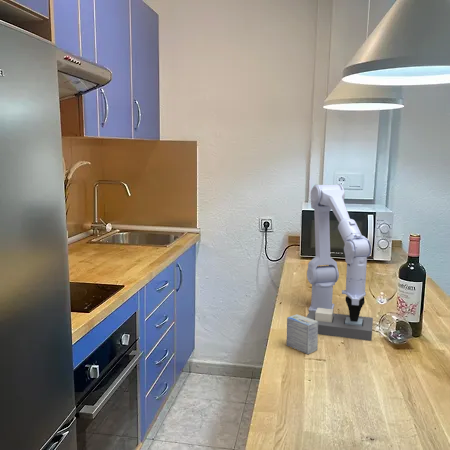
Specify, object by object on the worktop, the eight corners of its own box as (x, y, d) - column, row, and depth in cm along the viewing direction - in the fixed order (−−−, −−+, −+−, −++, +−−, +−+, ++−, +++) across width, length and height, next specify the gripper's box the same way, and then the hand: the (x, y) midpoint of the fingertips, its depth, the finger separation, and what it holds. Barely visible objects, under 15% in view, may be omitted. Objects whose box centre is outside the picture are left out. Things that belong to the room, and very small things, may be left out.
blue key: (345, 326, 147) (346, 316, 147) (362, 327, 146) (362, 318, 145) (344, 331, 143) (344, 322, 142) (361, 333, 141) (361, 324, 141)
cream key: (317, 316, 150) (317, 307, 149) (333, 318, 148) (333, 309, 148) (315, 321, 145) (315, 312, 145) (331, 323, 144) (331, 314, 143)
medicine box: (317, 350, 130) (319, 321, 129) (307, 355, 127) (308, 324, 126) (296, 342, 136) (296, 313, 135) (285, 346, 133) (286, 317, 132)
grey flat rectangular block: (309, 319, 154) (309, 310, 154) (372, 326, 148) (372, 317, 148) (303, 332, 143) (303, 322, 143) (371, 340, 137) (371, 331, 136)
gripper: (342, 271, 150) (341, 311, 152) (342, 283, 136) (340, 327, 138) (365, 272, 148) (363, 313, 150) (367, 285, 134) (364, 330, 136)
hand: (353, 320), depth 144 cm, fingers closed, pressing on blue key
